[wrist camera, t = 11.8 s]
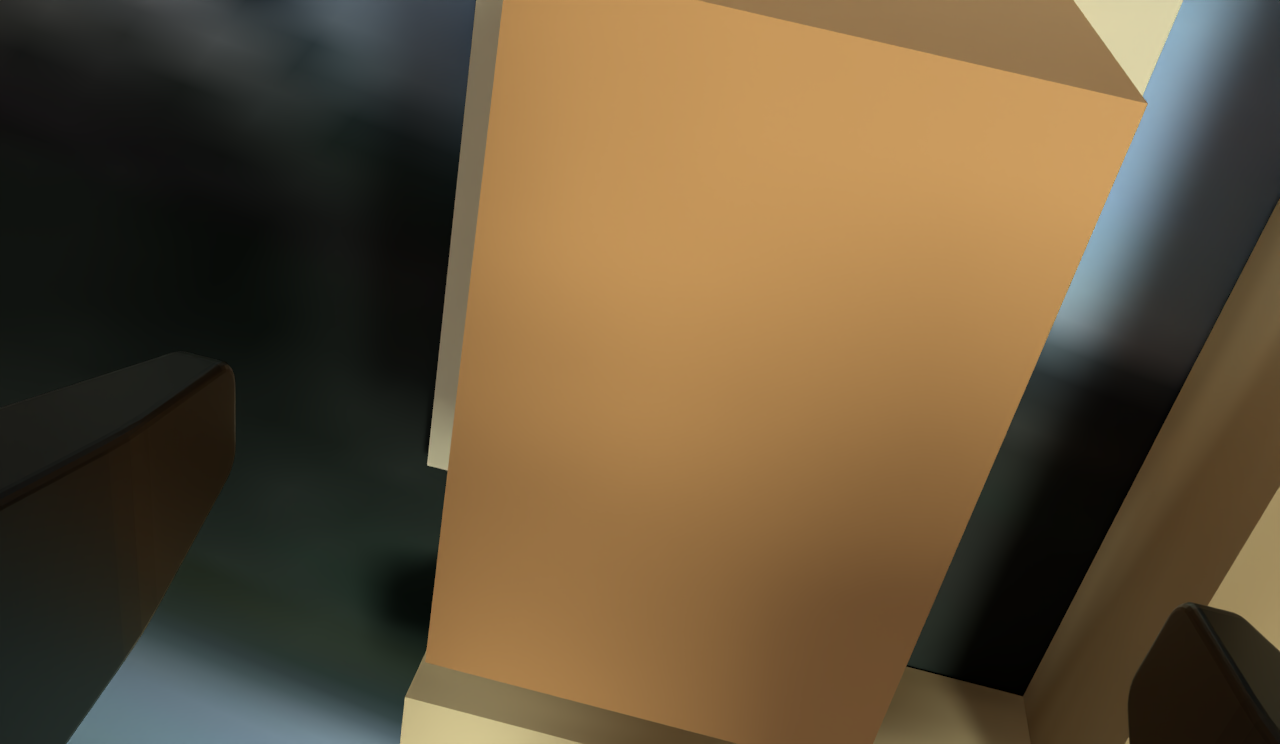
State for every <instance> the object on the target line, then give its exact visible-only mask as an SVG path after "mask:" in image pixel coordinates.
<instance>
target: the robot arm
mask: <svg viewBox="0 0 1280 744" xmlns="http://www.w3.org/2000/svg"><path fill="white" fill-rule="evenodd" d="M235 448H236V421H235V377H234V373H233V370H232V368H231V367H230V366H229V365H228V364H227V363H226V362H224V361H221V360H217V359H213V358H209V357H205V356H201V355H197V354H193V353H189V352H185V351H176V352H172V353H169V354H166V355H163V356H160V357H157V358H154V359H150V360H147V361H144V362H141V363H138V364H135V365H132V366H129V367H125V368H122V369H119V370H116V371H113V372H110V373H107V374H104V375H100V376H97V377H94V378H91V379H88V380H85V381H82V382H79V383H75V384H72V385H69V386H66V387H63V388H60V389H57V390H54V391H50V392H47V393H44V394H41V395H38V396H35V397H32V398H29V399H25V400H22V401H19V402H16V403H13V404H10V405H7V406H4V407H0V744H66V743H67V742H68V741H69V739H70V738H71V736H72V735H73V734H74V732H75V731H76V729H77V728H78V726H79V725H80V724H81V722H82V721H83V719H84V718H85V716H86V715H87V714H88V712H89V711H90V709H91V708H92V707H93V705H94V704H95V702H96V701H97V699H98V698H99V697H100V695H101V694H102V692H103V691H104V689H105V688H106V687H107V685H108V684H109V682H110V681H111V680H112V678H113V677H114V675H115V674H116V672H117V671H118V670H119V668H120V667H121V665H122V664H123V662H124V661H125V660H126V658H127V657H128V655H129V654H130V652H131V650H132V649H133V647H134V646H135V644H136V643H137V641H138V640H139V638H140V637H141V635H142V634H143V632H144V630H145V629H146V627H147V625H148V623H149V622H150V620H151V618H152V617H153V615H154V613H155V611H156V610H157V608H158V606H159V604H160V602H161V601H162V599H163V597H164V595H165V593H166V591H167V589H168V588H169V586H170V584H171V582H172V580H173V578H174V577H175V575H176V573H177V571H178V569H179V567H180V565H181V564H182V562H183V560H184V558H185V556H186V554H187V553H188V551H189V549H190V547H191V545H192V543H193V541H194V540H195V538H196V536H197V534H198V532H199V530H200V529H201V527H202V525H203V523H204V521H205V519H206V517H207V516H208V514H209V512H210V510H211V508H212V506H213V505H214V503H215V501H216V499H217V497H218V495H219V494H220V492H221V490H222V488H223V486H224V484H225V482H226V480H227V478H228V476H229V474H230V471H231V469H232V465H233V461H234V457H235ZM1128 728H1129V744H1280V651H1279V650H1278V649H1277V648H1276V647H1275V646H1274V645H1273V644H1272V643H1271V642H1269V641H1268V640H1267V639H1266V638H1265V637H1264V636H1263V635H1262V634H1261V633H1260V632H1259V631H1258V630H1257V629H1255V628H1254V627H1253V626H1252V625H1251V624H1250V623H1249V622H1248V621H1247V620H1246V619H1245V618H1243V617H1242V616H1240V615H1238V614H1236V613H1234V612H1230V611H1226V610H1222V609H1218V608H1213V607H1209V606H1205V605H1201V604H1197V603H1193V602H1187V603H1183V604H1180V605H1178V606H1177V607H1176V608H1175V609H1174V610H1173V611H1172V612H1171V614H1170V615H1169V616H1168V618H1167V620H1166V621H1165V623H1164V625H1163V627H1162V628H1161V630H1160V632H1159V633H1158V635H1157V637H1156V639H1155V640H1154V642H1153V644H1152V646H1151V647H1150V649H1149V651H1148V652H1147V654H1146V656H1145V658H1144V659H1143V661H1142V663H1141V665H1140V666H1139V668H1138V670H1137V671H1136V673H1135V675H1134V677H1133V680H1132V683H1131V686H1130V690H1129V695H1128Z"/></svg>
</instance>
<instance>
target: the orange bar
mask: <svg viewBox="0 0 1280 744" xmlns="http://www.w3.org/2000/svg"><path fill="white" fill-rule="evenodd" d="M1147 104H1148V103H1147V102H1146V101H1145V99H1144V98H1143V96H1142V95H1141V94H1140V92H1139V91H1138V89H1137V88H1136V87H1135V85H1134V84H1133V82H1132V81H1131V80H1130V78H1129V77H1128V76H1127V74H1126V73H1125V71H1124V70H1123V69H1122V67H1121V66H1120V64H1119V63H1118V62H1117V60H1116V59H1115V57H1114V56H1113V55H1112V53H1111V52H1110V50H1109V49H1108V48H1107V46H1106V45H1105V43H1104V42H1103V41H1102V39H1101V38H1100V36H1099V35H1098V34H1097V32H1096V31H1095V30H1094V28H1093V27H1092V25H1091V24H1090V23H1089V21H1088V20H1087V18H1086V17H1085V16H1084V14H1083V13H1082V11H1081V10H1080V9H1079V7H1078V6H1077V4H1076V3H1075V2H1074V0H503V5H502V13H501V22H500V30H499V39H498V47H497V56H496V64H495V73H494V81H493V90H492V98H491V107H490V115H489V124H488V132H487V141H486V149H485V158H484V166H483V175H482V183H481V192H480V200H479V209H478V217H477V226H476V234H475V243H474V251H473V260H472V268H471V277H470V285H469V294H468V302H467V311H466V319H465V328H464V336H463V345H462V353H461V362H460V370H459V379H458V387H457V396H456V404H455V413H454V421H453V430H452V438H451V447H450V455H449V464H448V473H447V481H446V490H445V498H444V507H443V515H442V524H441V532H440V541H439V549H438V558H437V566H436V575H435V583H434V592H433V600H432V609H431V617H430V626H429V634H428V643H427V651H426V660H425V662H426V663H430V664H433V665H437V666H441V667H445V668H449V669H453V670H457V671H460V672H464V673H468V674H472V675H476V676H480V677H483V678H487V679H491V680H495V681H499V682H503V683H506V684H510V685H514V686H518V687H522V688H526V689H529V690H533V691H537V692H541V693H545V694H549V695H552V696H556V697H560V698H564V699H568V700H572V701H576V702H579V703H583V704H587V705H591V706H595V707H599V708H602V709H606V710H610V711H614V712H618V713H622V714H625V715H629V716H633V717H637V718H641V719H645V720H648V721H652V722H656V723H660V724H664V725H668V726H672V727H675V728H679V729H683V730H687V731H691V732H695V733H698V734H702V735H706V736H710V737H714V738H718V739H721V740H725V741H729V742H733V743H737V744H873V742H874V740H875V738H876V735H877V733H878V731H879V728H880V726H881V724H882V721H883V719H884V717H885V714H886V712H887V710H888V707H889V705H890V703H891V701H892V698H893V696H894V694H895V691H896V689H897V687H898V684H899V682H900V680H901V677H902V675H903V673H904V670H905V668H906V666H907V663H908V661H909V659H910V656H911V654H912V652H913V649H914V647H915V645H916V642H917V640H918V638H919V635H920V633H921V631H922V628H923V626H924V624H925V621H926V619H927V617H928V614H929V612H930V610H931V607H932V605H933V603H934V600H935V598H936V596H937V593H938V591H939V589H940V586H941V584H942V582H943V579H944V577H945V575H946V572H947V570H948V568H949V565H950V563H951V561H952V558H953V556H954V554H955V551H956V549H957V547H958V544H959V542H960V540H961V537H962V535H963V533H964V530H965V528H966V526H967V523H968V521H969V519H970V516H971V514H972V512H973V510H974V507H975V505H976V503H977V500H978V498H979V496H980V493H981V491H982V489H983V486H984V484H985V482H986V479H987V477H988V475H989V472H990V470H991V468H992V465H993V463H994V461H995V458H996V456H997V454H998V451H999V449H1000V447H1001V444H1002V442H1003V440H1004V437H1005V435H1006V433H1007V430H1008V428H1009V426H1010V423H1011V421H1012V419H1013V416H1014V414H1015V412H1016V409H1017V407H1018V405H1019V402H1020V400H1021V398H1022V395H1023V393H1024V391H1025V388H1026V386H1027V384H1028V381H1029V379H1030V377H1031V374H1032V372H1033V370H1034V367H1035V365H1036V363H1037V360H1038V358H1039V356H1040V353H1041V351H1042V349H1043V346H1044V344H1045V342H1046V339H1047V337H1048V335H1049V332H1050V330H1051V328H1052V326H1053V323H1054V321H1055V319H1056V316H1057V314H1058V312H1059V309H1060V307H1061V305H1062V302H1063V300H1064V298H1065V295H1066V293H1067V291H1068V288H1069V286H1070V284H1071V281H1072V279H1073V277H1074V274H1075V272H1076V270H1077V267H1078V265H1079V263H1080V260H1081V258H1082V256H1083V253H1084V251H1085V249H1086V246H1087V244H1088V242H1089V239H1090V237H1091V235H1092V232H1093V230H1094V228H1095V225H1096V223H1097V221H1098V218H1099V216H1100V214H1101V211H1102V209H1103V207H1104V204H1105V202H1106V200H1107V197H1108V195H1109V193H1110V190H1111V188H1112V186H1113V183H1114V181H1115V179H1116V176H1117V174H1118V172H1119V169H1120V167H1121V165H1122V162H1123V160H1124V158H1125V155H1126V153H1127V151H1128V148H1129V146H1130V144H1131V142H1132V139H1133V137H1134V135H1135V132H1136V130H1137V128H1138V125H1139V123H1140V121H1141V118H1142V116H1143V114H1144V111H1145V109H1146V107H1147Z"/></svg>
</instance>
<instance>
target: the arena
mask: <svg viewBox="0 0 1280 744" xmlns="http://www.w3.org/2000/svg"><path fill="white" fill-rule="evenodd" d="M1187 602H1193V603H1197V604H1201V605H1205V606H1209V607H1213V608H1218V609H1222V610H1226V611H1230V612H1234V613H1236V614H1238V615H1240V616H1242V617H1243V618H1245V619H1246V620H1247V621H1248V622H1249V623H1250V624H1251V625H1252V626H1253V627H1254V628H1255V629H1257V630H1258V631H1259V632H1260V633H1261V634H1262V635H1263V636H1264V637H1265V638H1266V639H1267V640H1268V641H1269V642H1271V643H1272V644H1273V645H1274V646H1275V647H1276V648H1277V649H1278V650H1279V651H1280V199H1279V201H1278V203H1277V205H1276V207H1275V208H1274V210H1273V212H1272V214H1271V216H1270V218H1269V220H1268V222H1267V224H1266V226H1265V228H1264V230H1263V232H1262V234H1261V236H1260V238H1259V240H1258V241H1257V243H1256V245H1255V247H1254V249H1253V251H1252V253H1251V255H1250V257H1249V259H1248V261H1247V263H1246V265H1245V267H1244V269H1243V271H1242V273H1241V274H1240V276H1239V278H1238V280H1237V282H1236V284H1235V286H1234V288H1233V290H1232V292H1231V294H1230V296H1229V298H1228V300H1227V302H1226V304H1225V305H1224V307H1223V309H1222V311H1221V313H1220V315H1219V317H1218V319H1217V321H1216V323H1215V325H1214V327H1213V329H1212V331H1211V333H1210V335H1209V337H1208V338H1207V340H1206V342H1205V344H1204V346H1203V348H1202V350H1201V352H1200V354H1199V356H1198V358H1197V360H1196V362H1195V364H1194V366H1193V368H1192V370H1191V371H1190V373H1189V375H1188V377H1187V379H1186V381H1185V383H1184V385H1183V387H1182V389H1181V391H1180V393H1179V395H1178V397H1177V399H1176V401H1175V403H1174V404H1173V406H1172V408H1171V410H1170V412H1169V414H1168V416H1167V418H1166V420H1165V422H1164V424H1163V426H1162V428H1161V430H1160V432H1159V434H1158V435H1157V437H1156V439H1155V441H1154V443H1153V445H1152V447H1151V449H1150V451H1149V453H1148V455H1147V457H1146V459H1145V461H1144V463H1143V465H1142V467H1141V468H1140V470H1139V472H1138V474H1137V476H1136V478H1135V480H1134V482H1133V484H1132V486H1131V488H1130V490H1129V492H1128V494H1127V496H1126V498H1125V500H1124V501H1123V503H1122V505H1121V507H1120V509H1119V511H1118V513H1117V515H1116V517H1115V519H1114V521H1113V523H1112V525H1111V527H1110V529H1109V531H1108V532H1107V534H1106V536H1105V538H1104V540H1103V542H1102V544H1101V546H1100V548H1099V550H1098V552H1097V554H1096V556H1095V558H1094V560H1093V562H1092V564H1091V565H1090V567H1089V569H1088V571H1087V573H1086V575H1085V577H1084V579H1083V581H1082V583H1081V585H1080V587H1079V589H1078V591H1077V593H1076V595H1075V597H1074V598H1073V600H1072V602H1071V604H1070V606H1069V608H1068V610H1067V612H1066V614H1065V616H1064V618H1063V620H1062V622H1061V624H1060V626H1059V628H1058V629H1057V631H1056V633H1055V635H1054V637H1053V639H1052V641H1051V643H1050V645H1049V647H1048V649H1047V651H1046V653H1045V655H1044V657H1043V659H1042V661H1041V662H1040V664H1039V666H1038V668H1037V670H1036V672H1035V674H1034V676H1033V678H1032V680H1031V682H1030V684H1029V686H1028V688H1027V690H1026V692H1025V694H1024V695H1023V696H1020V695H1016V694H1012V693H1008V692H1004V691H1000V690H996V689H992V688H988V687H984V686H980V685H977V684H973V683H969V682H965V681H961V680H957V679H953V678H949V677H945V676H941V675H937V674H933V673H930V672H926V671H922V670H918V669H914V668H910V667H906V668H905V670H904V673H903V675H902V677H901V680H900V682H899V684H898V687H897V689H896V691H895V694H894V696H893V698H892V701H891V703H890V705H889V707H888V710H887V712H886V714H885V717H884V719H883V721H882V724H881V726H880V728H879V731H878V733H877V735H876V738H875V740H874V742H873V744H1129V728H1128V695H1129V690H1130V686H1131V683H1132V680H1133V677H1134V675H1135V673H1136V671H1137V670H1138V668H1139V666H1140V665H1141V663H1142V661H1143V659H1144V658H1145V656H1146V654H1147V652H1148V651H1149V649H1150V647H1151V646H1152V644H1153V642H1154V640H1155V639H1156V637H1157V635H1158V633H1159V632H1160V630H1161V628H1162V627H1163V625H1164V623H1165V621H1166V620H1167V618H1168V616H1169V615H1170V614H1171V612H1172V611H1173V610H1174V609H1175V608H1176V607H1177V606H1178V605H1180V604H1183V603H1187ZM426 651H427V650H426ZM425 660H426V652H425V655H424V657H423V659H422V661H421V663H420V666H419V668H418V670H417V672H416V674H415V676H414V679H413V681H412V683H411V685H410V687H409V690H408V692H407V694H406V696H405V703H404V712H403V721H402V730H401V740H400V744H737V743H733V742H729V741H725V740H721V739H718V738H714V737H710V736H706V735H702V734H698V733H695V732H691V731H687V730H683V729H679V728H675V727H672V726H668V725H664V724H660V723H656V722H652V721H648V720H645V719H641V718H637V717H633V716H629V715H625V714H622V713H618V712H614V711H610V710H606V709H602V708H599V707H595V706H591V705H587V704H583V703H579V702H576V701H572V700H568V699H564V698H560V697H556V696H552V695H549V694H545V693H541V692H537V691H533V690H529V689H526V688H522V687H518V686H514V685H510V684H506V683H503V682H499V681H495V680H491V679H487V678H483V677H480V676H476V675H472V674H468V673H464V672H460V671H457V670H453V669H449V668H445V667H441V666H437V665H433V664H430V663H426V662H425Z"/></svg>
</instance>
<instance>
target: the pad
mask: <svg viewBox="0 0 1280 744" xmlns="http://www.w3.org/2000/svg"><path fill="white" fill-rule="evenodd" d="M1074 2H1075V3H1076V4H1077V6H1078V7H1079V9H1080V10H1081V11H1082V13H1083V14H1084V16H1085V17H1086V18H1087V20H1088V21H1089V23H1090V24H1091V25H1092V27H1093V28H1094V30H1095V31H1096V32H1097V34H1098V35H1099V36H1100V38H1101V39H1102V41H1103V42H1104V43H1105V45H1106V46H1107V48H1108V49H1109V50H1110V52H1111V53H1112V55H1113V56H1114V57H1115V59H1116V60H1117V62H1118V63H1119V64H1120V66H1121V67H1122V69H1123V70H1124V71H1125V73H1126V74H1127V76H1128V77H1129V78H1130V80H1131V81H1132V82H1133V84H1134V85H1135V87H1136V88H1137V89H1138V91H1139V92H1140V94H1141V95H1142V96H1143V93H1144V91H1145V89H1146V86H1147V84H1148V82H1149V79H1150V77H1151V75H1152V72H1153V70H1154V68H1155V65H1156V63H1157V61H1158V58H1159V56H1160V53H1161V51H1162V49H1163V46H1164V44H1165V42H1166V39H1167V37H1168V35H1169V32H1170V30H1171V28H1172V25H1173V23H1174V21H1175V18H1176V16H1177V14H1178V11H1179V9H1180V6H1181V4H1182V2H1183V0H1074ZM502 5H503V0H476V7H475V16H474V26H473V35H472V45H471V54H470V64H469V73H468V83H467V92H466V101H465V111H464V120H463V130H462V139H461V149H460V158H459V168H458V177H457V187H456V196H455V205H454V215H453V224H452V234H451V243H450V253H449V262H448V272H447V281H446V291H445V300H444V310H443V319H442V328H441V338H440V347H439V357H438V366H437V376H436V385H435V395H434V404H433V414H432V423H431V433H430V442H429V451H428V461H427V466H431V467H435V468H439V469H443V470H447V471H448V464H449V455H450V447H451V438H452V430H453V421H454V413H455V404H456V396H457V387H458V379H459V370H460V362H461V353H462V345H463V336H464V328H465V319H466V311H467V302H468V294H469V285H470V277H471V268H472V260H473V251H474V243H475V234H476V226H477V217H478V209H479V200H480V192H481V183H482V175H483V166H484V158H485V149H486V141H487V132H488V124H489V115H490V107H491V98H492V90H493V81H494V73H495V64H496V56H497V47H498V39H499V30H500V22H501V13H502Z"/></svg>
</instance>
